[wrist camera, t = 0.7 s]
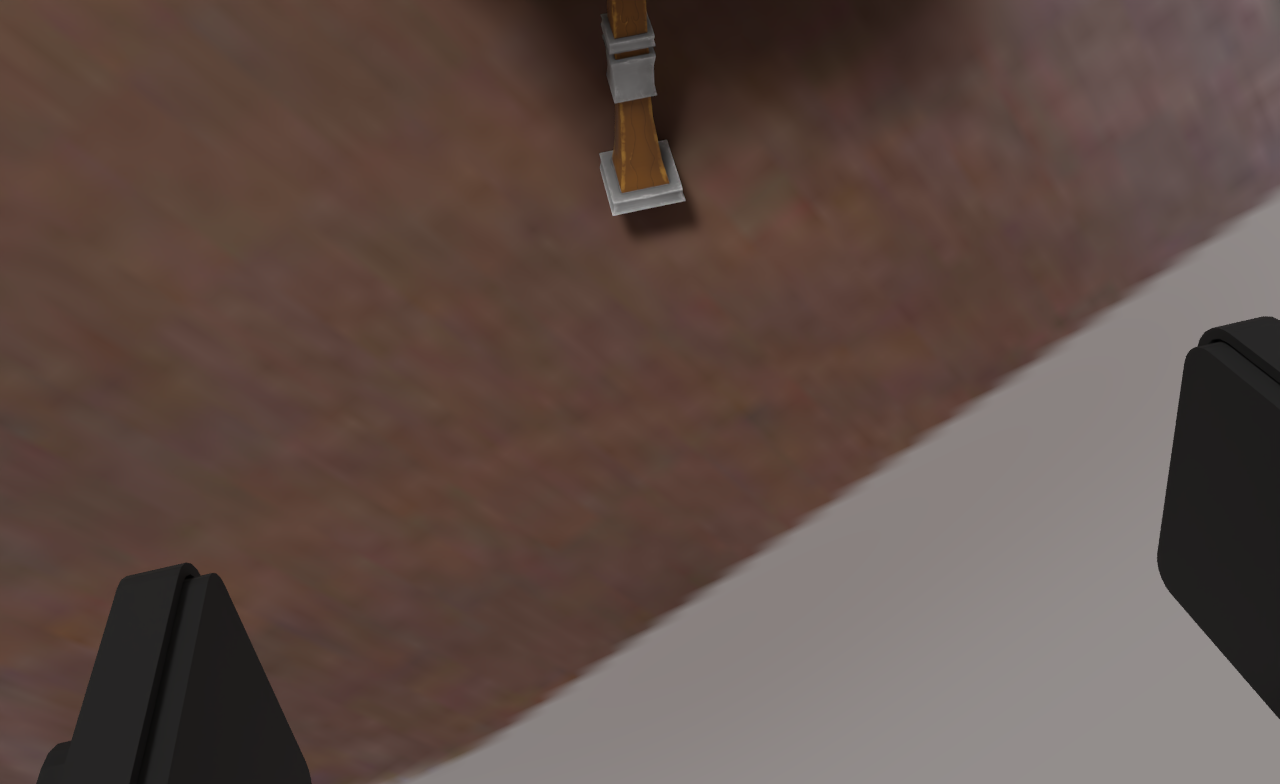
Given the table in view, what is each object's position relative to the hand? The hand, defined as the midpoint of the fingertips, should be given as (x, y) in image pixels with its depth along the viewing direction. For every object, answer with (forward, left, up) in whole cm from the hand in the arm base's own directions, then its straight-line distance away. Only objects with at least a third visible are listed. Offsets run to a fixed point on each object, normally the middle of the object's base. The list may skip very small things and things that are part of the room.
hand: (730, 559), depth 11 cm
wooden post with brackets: (-1, 0, -19) cm, 19 cm away
